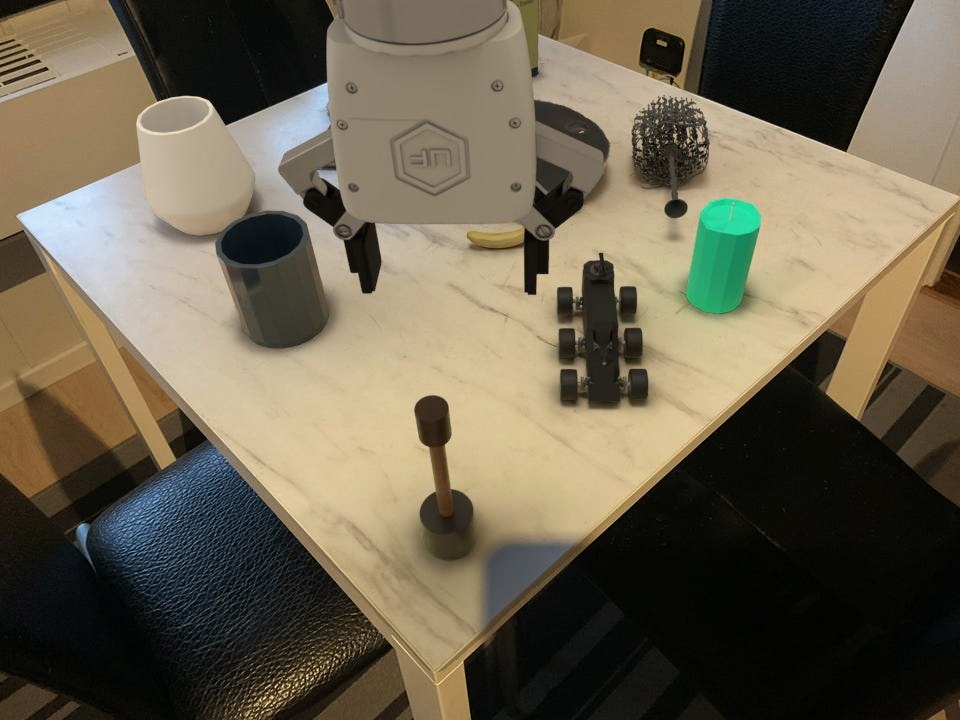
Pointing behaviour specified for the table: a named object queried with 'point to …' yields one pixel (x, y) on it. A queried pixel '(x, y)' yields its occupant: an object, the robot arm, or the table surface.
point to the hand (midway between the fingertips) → (451, 279)
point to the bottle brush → (442, 487)
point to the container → (273, 278)
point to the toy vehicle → (600, 337)
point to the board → (571, 126)
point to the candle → (722, 254)
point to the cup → (192, 166)
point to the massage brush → (670, 147)
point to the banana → (497, 238)
